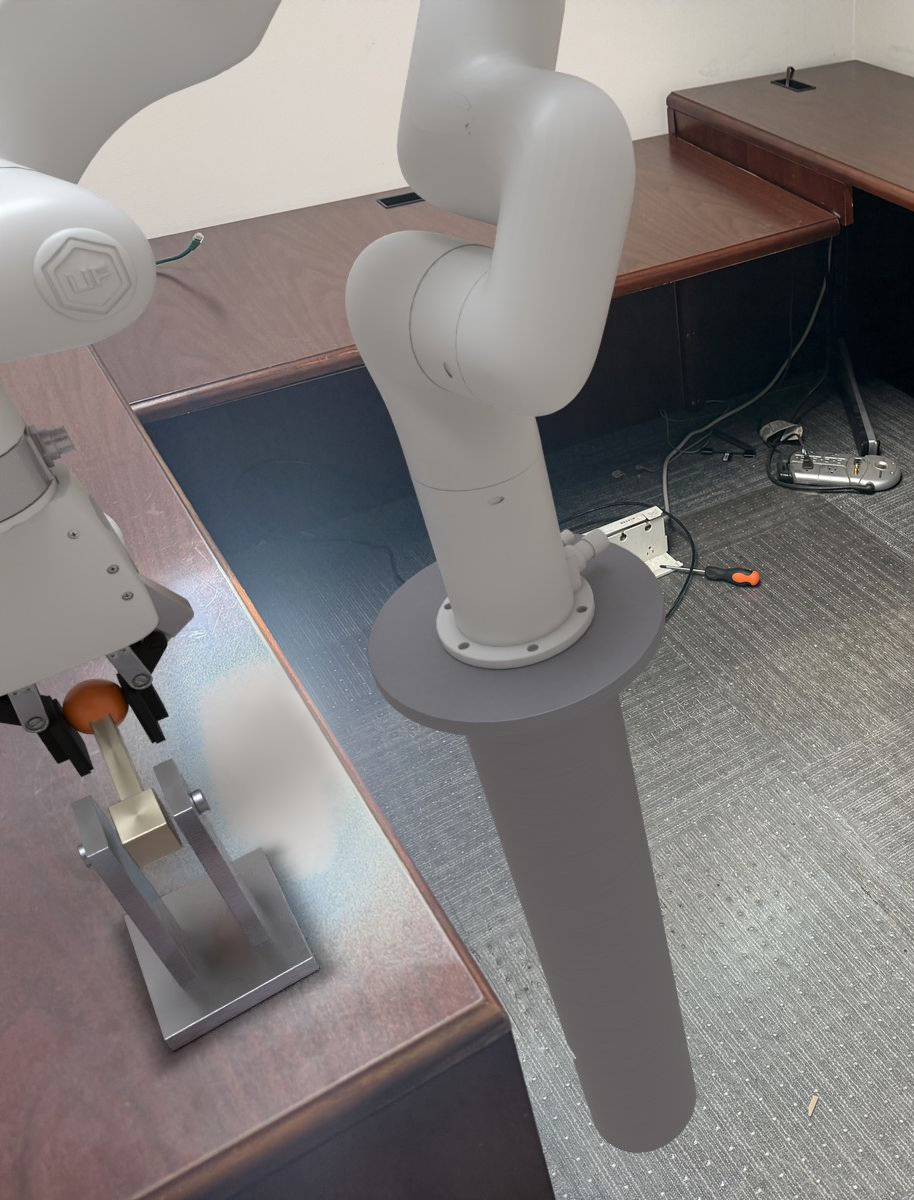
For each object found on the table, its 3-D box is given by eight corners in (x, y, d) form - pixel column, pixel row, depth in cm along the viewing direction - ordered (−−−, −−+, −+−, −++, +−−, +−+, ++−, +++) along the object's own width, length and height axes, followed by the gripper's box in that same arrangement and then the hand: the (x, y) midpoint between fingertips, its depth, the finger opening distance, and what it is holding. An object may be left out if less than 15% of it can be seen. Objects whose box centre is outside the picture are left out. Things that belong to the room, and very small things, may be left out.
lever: (70, 719, 64) (46, 683, 61) (129, 694, 65) (107, 658, 63) (132, 879, 57) (107, 845, 54) (196, 847, 58) (174, 813, 56)
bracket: (131, 927, 65) (28, 785, 57) (267, 858, 69) (187, 715, 61) (173, 1052, 59) (63, 912, 51) (319, 969, 63) (239, 826, 55)
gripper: (123, 399, 59) (244, 652, 70) (-253, 511, 51) (-49, 774, 63) (156, 455, 54) (280, 716, 66) (-253, 588, 47) (-31, 857, 58)
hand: (118, 742), depth 64 cm, fingers closed on lever, 3 cm apart
